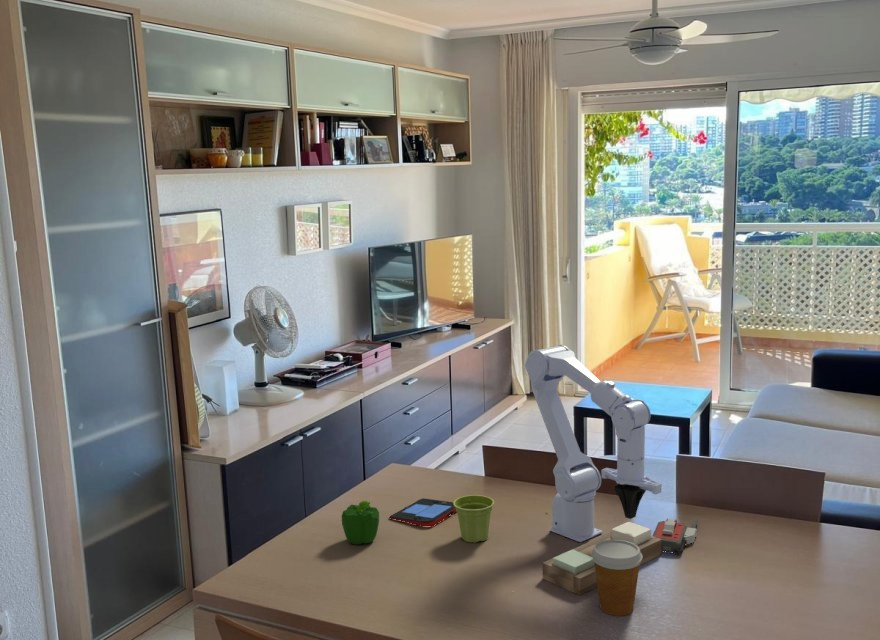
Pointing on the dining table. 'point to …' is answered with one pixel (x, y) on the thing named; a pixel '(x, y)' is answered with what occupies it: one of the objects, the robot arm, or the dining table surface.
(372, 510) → the bell pepper
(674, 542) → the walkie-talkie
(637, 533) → the cream key
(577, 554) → the sage key
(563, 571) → the key base
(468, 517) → the plant pot
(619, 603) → the disposable coffee cup
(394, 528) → the dining table surface
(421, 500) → the game console
